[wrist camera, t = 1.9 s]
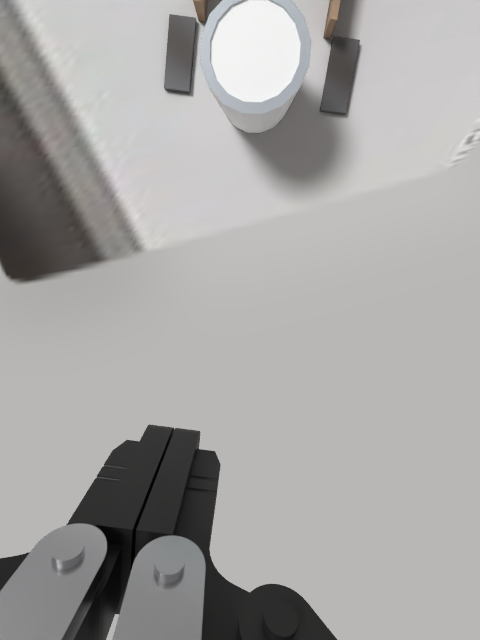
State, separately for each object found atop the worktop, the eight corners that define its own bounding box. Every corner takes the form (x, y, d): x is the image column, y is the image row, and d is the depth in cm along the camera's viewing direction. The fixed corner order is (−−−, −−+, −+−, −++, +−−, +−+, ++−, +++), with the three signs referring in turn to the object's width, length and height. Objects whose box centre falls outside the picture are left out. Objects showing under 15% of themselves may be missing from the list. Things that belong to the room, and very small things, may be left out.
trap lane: (344, 114, 28) (353, 103, 26) (165, 89, 28) (156, 76, 26) (378, -61, 25) (390, -93, 23) (178, -88, 25) (170, -121, 23)
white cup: (220, 148, 29) (209, 122, 22) (206, 54, 28) (189, -3, 21) (302, 133, 29) (317, 102, 22) (293, 37, 27) (305, -29, 20)
